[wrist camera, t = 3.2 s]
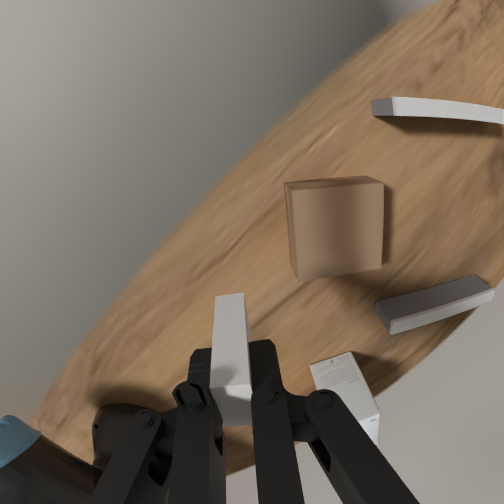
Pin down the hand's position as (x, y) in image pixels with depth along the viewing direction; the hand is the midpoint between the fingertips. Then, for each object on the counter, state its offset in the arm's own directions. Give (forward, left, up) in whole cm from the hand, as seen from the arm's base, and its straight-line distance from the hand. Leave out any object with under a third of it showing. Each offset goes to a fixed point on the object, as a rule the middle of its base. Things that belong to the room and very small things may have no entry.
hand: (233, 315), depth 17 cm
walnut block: (+9, 0, -13) cm, 16 cm away
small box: (+10, -21, -13) cm, 27 cm away
